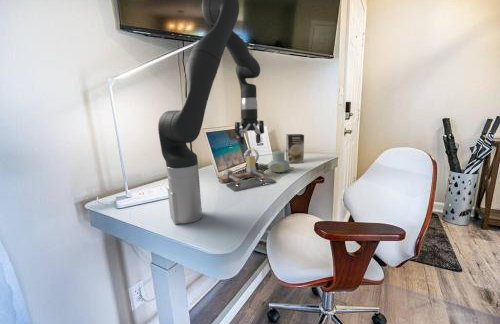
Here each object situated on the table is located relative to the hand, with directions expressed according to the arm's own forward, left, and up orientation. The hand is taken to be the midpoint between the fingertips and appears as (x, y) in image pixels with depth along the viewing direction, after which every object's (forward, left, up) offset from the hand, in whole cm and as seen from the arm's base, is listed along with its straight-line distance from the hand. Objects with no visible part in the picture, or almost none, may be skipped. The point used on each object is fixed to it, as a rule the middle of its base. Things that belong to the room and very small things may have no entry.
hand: (250, 143), depth 120 cm
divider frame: (-5, -5, -16) cm, 17 cm away
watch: (+7, +12, -16) cm, 21 cm away
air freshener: (+16, 0, -16) cm, 23 cm away
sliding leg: (0, -5, -14) cm, 15 cm away
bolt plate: (-6, -11, -16) cm, 20 cm away
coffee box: (+35, +11, -16) cm, 40 cm away
